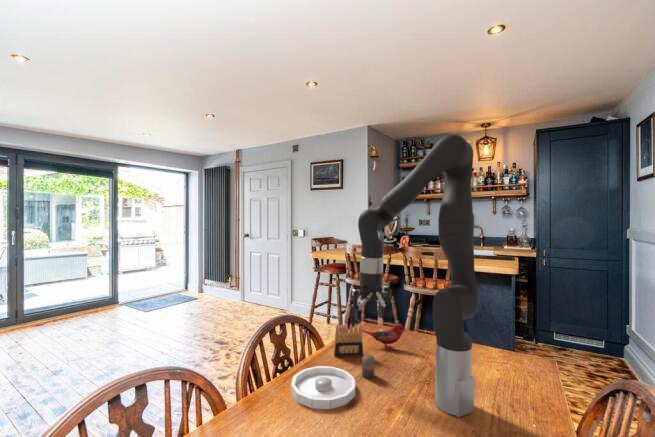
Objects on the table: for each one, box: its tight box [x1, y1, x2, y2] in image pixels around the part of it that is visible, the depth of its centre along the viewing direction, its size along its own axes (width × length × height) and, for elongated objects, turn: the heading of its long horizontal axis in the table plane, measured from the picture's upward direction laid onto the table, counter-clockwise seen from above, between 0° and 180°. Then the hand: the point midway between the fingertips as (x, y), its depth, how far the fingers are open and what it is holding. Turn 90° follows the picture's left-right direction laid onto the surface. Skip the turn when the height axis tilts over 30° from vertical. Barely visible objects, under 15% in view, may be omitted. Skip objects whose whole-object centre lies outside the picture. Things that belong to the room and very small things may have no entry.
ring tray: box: [290, 365, 356, 410], centre depth 97 cm, size 19×19×2 cm
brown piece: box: [361, 354, 376, 380], centre depth 106 cm, size 4×4×6 cm
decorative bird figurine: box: [362, 323, 407, 349], centre depth 128 cm, size 3×18×10 cm, turn 78°
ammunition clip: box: [333, 322, 364, 358], centre depth 121 cm, size 11×2×12 cm, turn 96°
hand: (369, 319), depth 106 cm, fingers open, 8 cm apart
